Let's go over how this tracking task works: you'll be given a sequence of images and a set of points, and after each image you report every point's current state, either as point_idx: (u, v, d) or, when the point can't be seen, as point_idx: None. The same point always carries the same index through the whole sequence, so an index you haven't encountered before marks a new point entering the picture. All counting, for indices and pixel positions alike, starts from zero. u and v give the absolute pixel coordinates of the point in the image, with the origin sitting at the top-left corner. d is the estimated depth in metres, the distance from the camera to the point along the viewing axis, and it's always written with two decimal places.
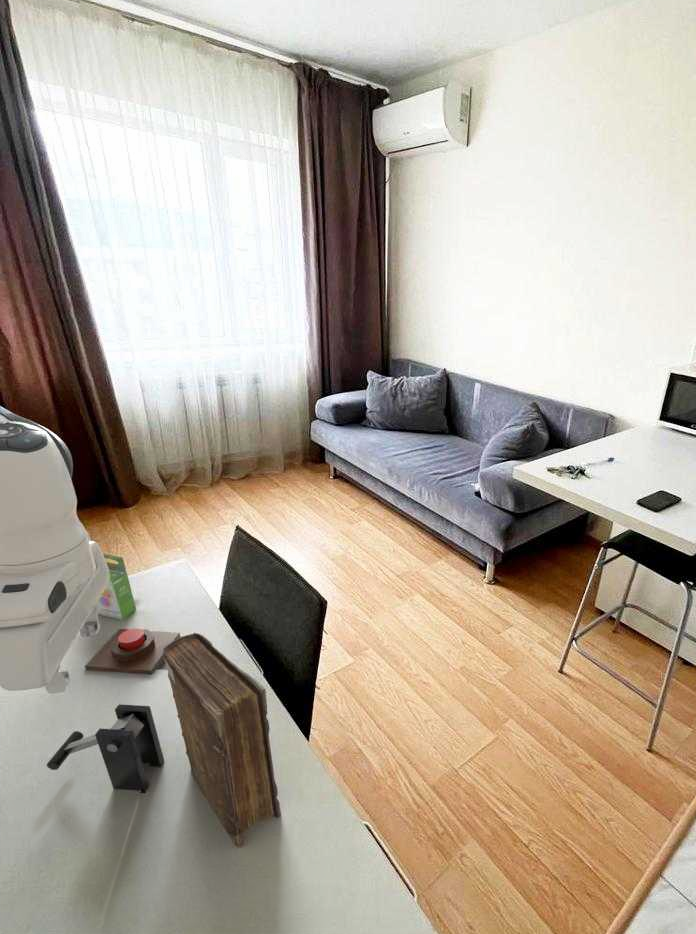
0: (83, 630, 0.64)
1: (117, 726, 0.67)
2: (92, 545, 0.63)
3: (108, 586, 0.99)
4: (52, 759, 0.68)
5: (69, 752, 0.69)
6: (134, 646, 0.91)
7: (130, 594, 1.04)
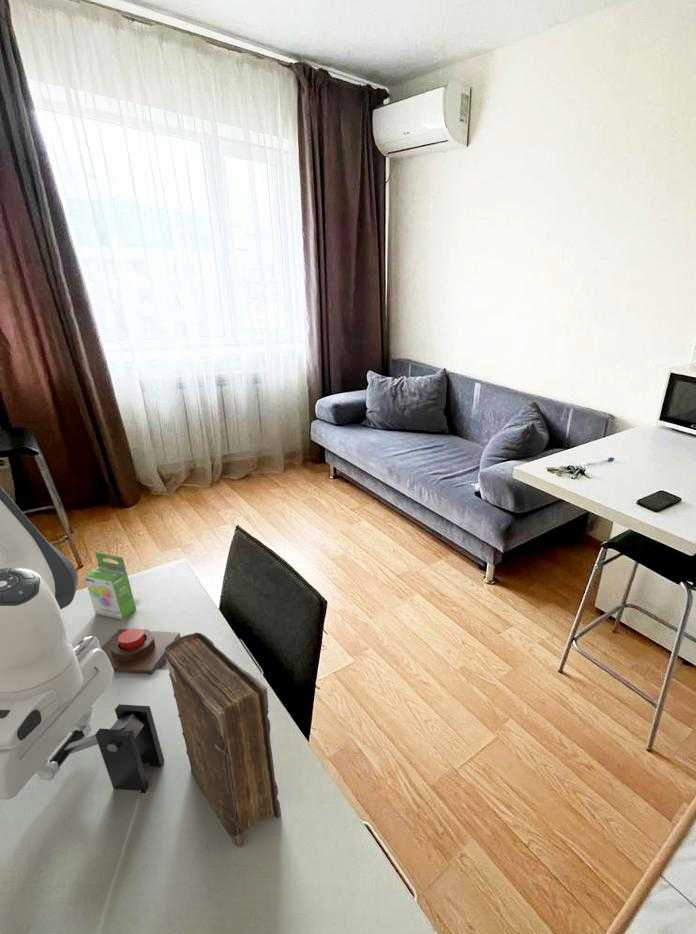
0: None
1: (117, 726, 0.67)
2: (95, 654, 0.72)
3: (108, 586, 0.99)
4: (52, 759, 0.68)
5: (69, 752, 0.69)
6: (134, 646, 0.91)
7: (130, 594, 1.04)
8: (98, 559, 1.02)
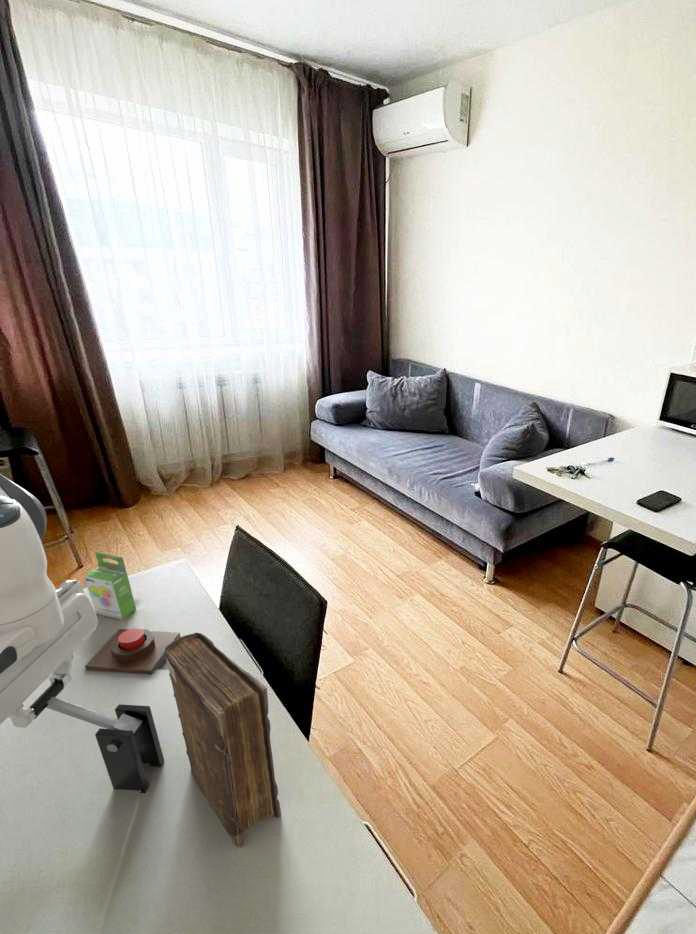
0: (53, 681, 0.68)
1: (125, 727, 0.67)
2: (77, 598, 0.68)
3: (108, 586, 0.99)
4: (35, 710, 0.64)
5: (48, 707, 0.66)
6: (134, 646, 0.91)
7: (130, 594, 1.04)
8: (98, 559, 1.02)
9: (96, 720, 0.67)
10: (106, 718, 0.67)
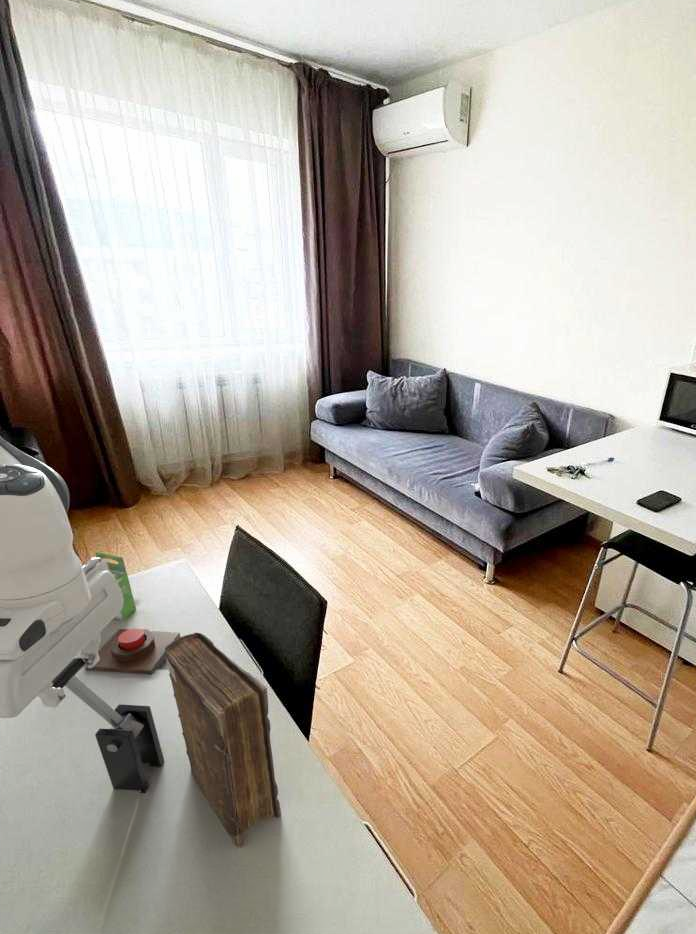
0: None
1: (129, 729, 0.67)
2: (103, 576, 0.66)
3: None
4: (58, 687, 0.62)
5: (66, 685, 0.64)
6: (134, 646, 0.91)
7: (130, 594, 1.04)
8: None
9: (105, 713, 0.66)
10: (114, 713, 0.67)
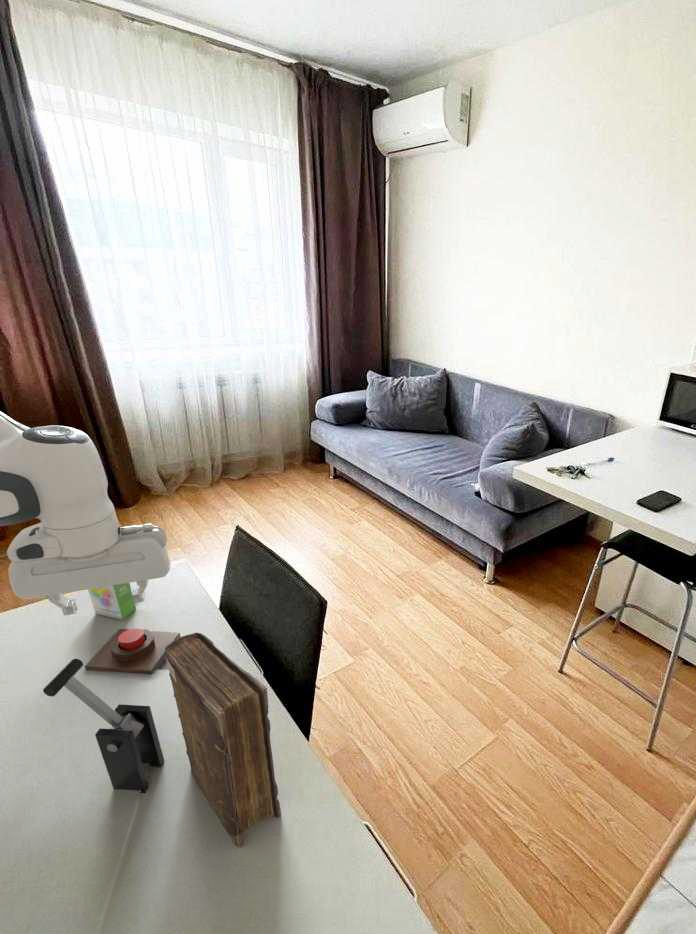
0: None
1: (129, 729, 0.67)
2: (142, 541, 0.76)
3: (108, 586, 0.99)
4: (57, 688, 0.62)
5: (65, 685, 0.64)
6: (134, 646, 0.91)
7: (130, 594, 1.04)
8: None
9: (104, 713, 0.66)
10: (113, 713, 0.67)
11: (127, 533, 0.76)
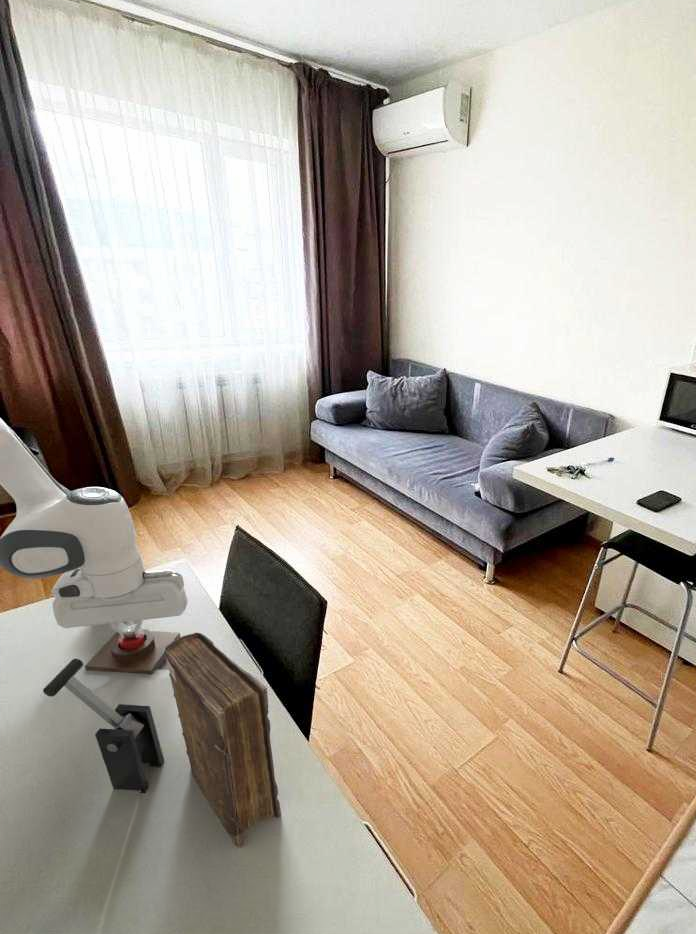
0: None
1: (129, 729, 0.67)
2: (162, 585, 0.87)
3: None
4: (57, 688, 0.62)
5: (65, 685, 0.64)
6: (134, 647, 0.91)
7: None
8: None
9: (104, 713, 0.66)
10: (113, 713, 0.67)
11: (150, 577, 0.88)
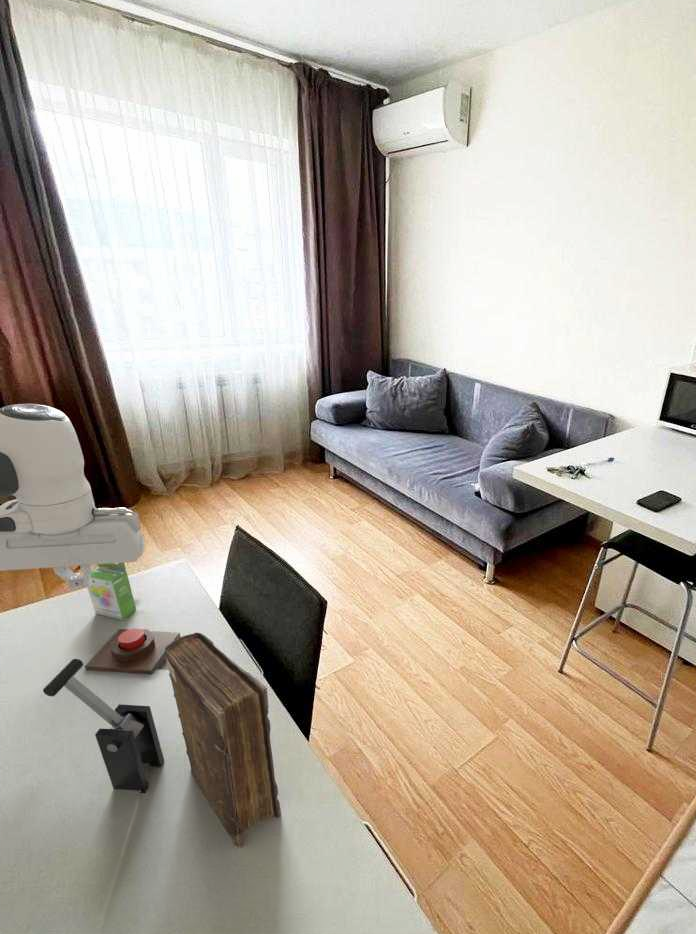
0: None
1: (129, 729, 0.67)
2: (114, 524, 0.76)
3: (108, 586, 0.99)
4: (57, 688, 0.62)
5: (65, 685, 0.64)
6: (134, 646, 0.91)
7: (130, 594, 1.04)
8: None
9: (104, 713, 0.66)
10: (113, 713, 0.67)
11: (101, 515, 0.77)
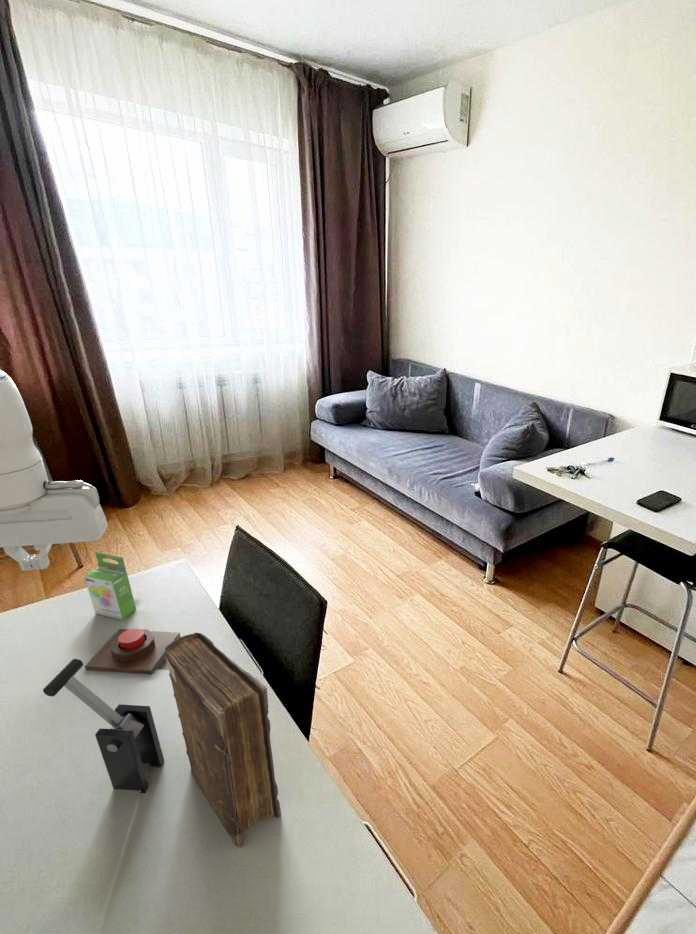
0: None
1: (129, 729, 0.67)
2: (69, 499, 0.69)
3: (108, 586, 0.99)
4: (57, 688, 0.62)
5: (65, 685, 0.64)
6: (134, 646, 0.91)
7: (130, 594, 1.04)
8: (98, 559, 1.02)
9: (104, 713, 0.66)
10: (113, 713, 0.67)
11: (54, 488, 0.69)
